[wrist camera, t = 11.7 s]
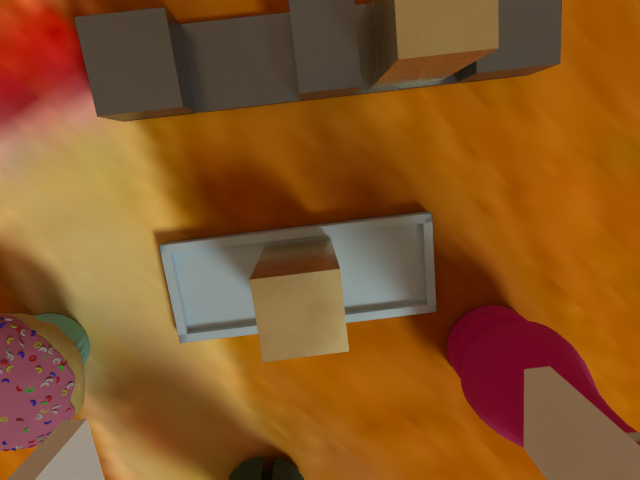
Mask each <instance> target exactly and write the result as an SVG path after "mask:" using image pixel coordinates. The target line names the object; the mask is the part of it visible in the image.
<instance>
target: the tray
mask: <svg viewBox="0 0 640 480" xmlns="http://www.w3.org/2000/svg"><path fill="white" fill-rule="evenodd" d="M323 239H331V241H332V244H333V247H334V250H335V254H336V257H337V260H338V263H339V266H340V271H341V280H342V290H343V299H344V309H345V318H346V323H349V322H357V321H365V320H374V319H382V318H390V317H398V316H406V315H415V314H423V313H431V312H437V309H436V288H435V267H434V246H433V225H432V213H430V212H428V211H424V212H416V213H407V214H399V215H390V216H382V217H374V218H365V219H357V220H348V221H340V222H331V223H323V224H315V225H306V226H298V227H289V228H281V229H272V230H264V231H256V232H247V233H239V234H230V235H222V236H214V237H205V238H197V239H188V240H180V241H171V242H164V243H163V244H161V245H159V248H160V252H161V257H162V262H163V266H164V271H165V276H166V280H167V285H168V290H169V294H170V299H171V304H172V308H173V313H174V317H175V322H176V327H177V331H178V336H179V341H180V343H185V342H194V341H202V340H210V339H218V338H226V337H234V336H243V335H251V334H258V330H257V324H256V317H255V311H254V305H253V299H252V293H251V287H250V281H249V279H250V277H251V275H252V273H253V271H254V269H255V266H256V264H257V262H258V260H259V258H260V255H261V253H262V251H263V249H264V247H265V246H273V245H281V244H290V243H298V242H306V241H315V240H323Z"/></svg>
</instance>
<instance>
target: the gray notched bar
mask: <svg viewBox="0 0 640 480" xmlns="http://www.w3.org/2000/svg"><path fill="white" fill-rule="evenodd" d="M288 2H289V12H286V13H277V14H268V15H259V16H250V17H241V18H232V19H223V20H214V21H205V22H196V23H187V24H180V23H179V22H178V21H177V20H176V19H175V18H174V17H173V16H172V14H171V13H170V12H169V11H168V10H167V9H166V8H165V7H161V8H152V9H143V10H134V11H125V12H116V13H107V14H98V15H89V16H79V17H74V19H75V23H76V28H77V32H78V36H79V41H80V45H81V49H82V53H83V58H84V62H85V66H86V70H87V75H88V79H89V83H90V88H91V92H92V96H93V100H94V105H95V109H96V113H97V117H102V118H107V119H113V120H118V121H132V120H141V119H150V118H158V117H167V116H176V115H185V114H193V113H202V112H211V111H220V110H228V109H237V108H246V107H255V106H263V105H272V104H281V103H289V102H298V101H307V100H316V99H324V98H333V97H342V96H351V95H359V94H368V93H377V92H386V91H394V90H403V89H412V88H421V87H429V86H438V85H447V84H455V83H464V82H473V81H482V80H490V79H499V78H508V77H517V76H525V75H531V74H533V73H536V72H539V71H542V70H544V69H547V68H550V67H552V66H555V65H558V64H560V53H561V15H562V0H498V26H499V48H498V49H496V50H494V51H493V52H491V53H489V54H487V55H486V56H484V57H482V58H480V59H478V60H477V61H475V62H473V63H471V64H470V65H468V66H466V67H464V68H462V69H461V70H459V71H457V72H455V73H454V74H452V75H450V76H448V77H446V78H445V79H443V80H436V81H428V82H419V83H410V84H401V85H393V86H384V87H375V88H371V80H370V68H369V55H368V42H367V29H366V17H365V7H366V4H358V5H355V0H288Z"/></svg>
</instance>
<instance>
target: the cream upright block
mask: <svg viewBox="0 0 640 480" xmlns="http://www.w3.org/2000/svg"><path fill="white" fill-rule="evenodd" d="M365 17H366V29H367V42H368V55H369V68H370V80H371V88H375V87H384V86H393V85H401V84H410V83H419V82H428V81H436V80H443V79H445V78H446V77H448V76H450V75H452V74H454V73H455V72H457V71H459V70H461V69H462V68H464V67H466V66H468V65H470V64H471V63H473V62H475V61H477V60H478V59H480V58H482V57H484V56H486V55H487V54H489V53H491V52H493V51H494V50H496V49H498V48H499V26H498V0H368V2H367V4H366V7H365Z"/></svg>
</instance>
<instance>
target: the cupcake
mask: <svg viewBox="0 0 640 480" xmlns="http://www.w3.org/2000/svg"><path fill="white" fill-rule="evenodd" d="M89 350H90V345H89V340H88V337H87V335H86V333H85V331H84V330H83V328H82V327H81V326H80V325H79V324H78V323H77V322H76V321H74V320H73V319H71V318H69V317H67V316H64V315H61V314H56V313H44V314H40V315H35V316H32V315H29V314H25V313H15V314H4V313H0V451H1V450H3V451H9V450H14V451H16V449H23V448H31V447H35V446H37V445H39V444H41V443H42V442H43V441H44V440H45V439H46V438H47V437H48V436H49V435H50V434H51V433H52V431H53V430H54V429H55V428H56V427H57V426H58V425H59V424H60V423H61V422H64V421H70V420H71V419H72V417H73V416H74V415H75V414H76V413H77V412H78V411H79V410H80V409H81V407H82V406H83V403H84V389H85V376H84V364H85V362H86V360H87V358H88V355H89Z"/></svg>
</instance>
